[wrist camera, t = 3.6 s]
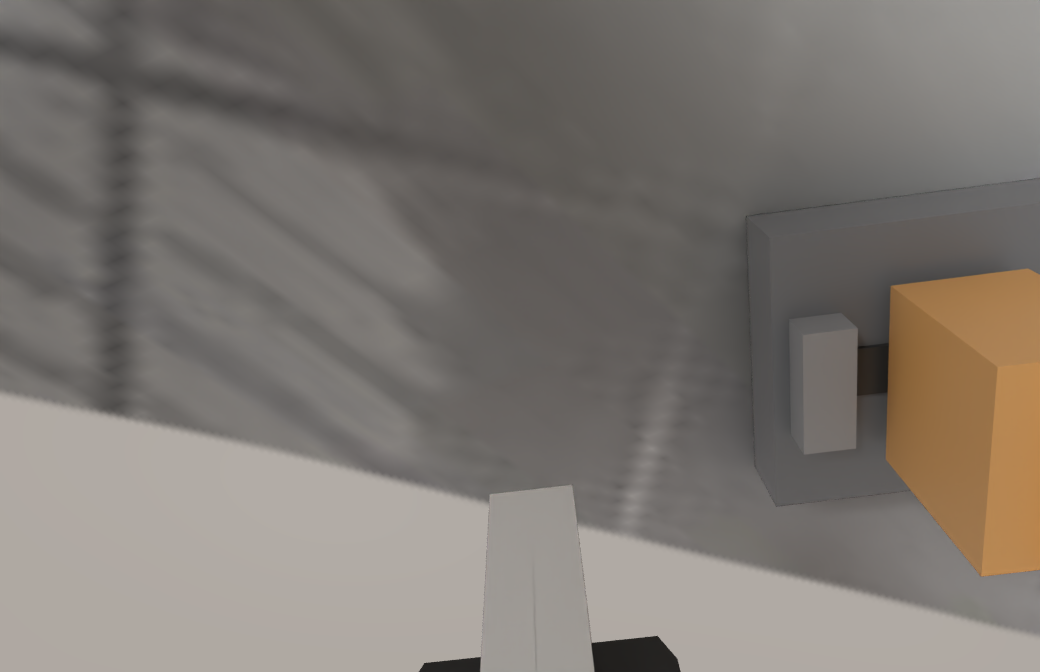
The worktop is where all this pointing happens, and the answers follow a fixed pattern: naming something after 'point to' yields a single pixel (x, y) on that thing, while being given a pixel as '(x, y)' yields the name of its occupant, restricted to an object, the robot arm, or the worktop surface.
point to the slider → (970, 411)
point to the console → (857, 321)
